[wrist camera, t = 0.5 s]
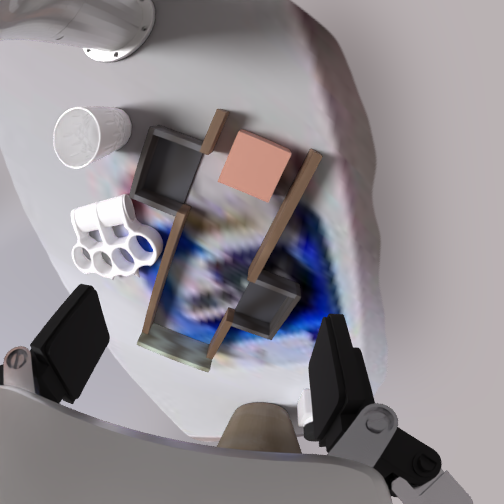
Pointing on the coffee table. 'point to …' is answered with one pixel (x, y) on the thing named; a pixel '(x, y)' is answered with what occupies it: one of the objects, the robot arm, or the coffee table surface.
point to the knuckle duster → (112, 238)
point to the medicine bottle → (306, 414)
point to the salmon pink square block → (254, 165)
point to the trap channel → (172, 202)
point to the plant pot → (260, 430)
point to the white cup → (90, 134)
